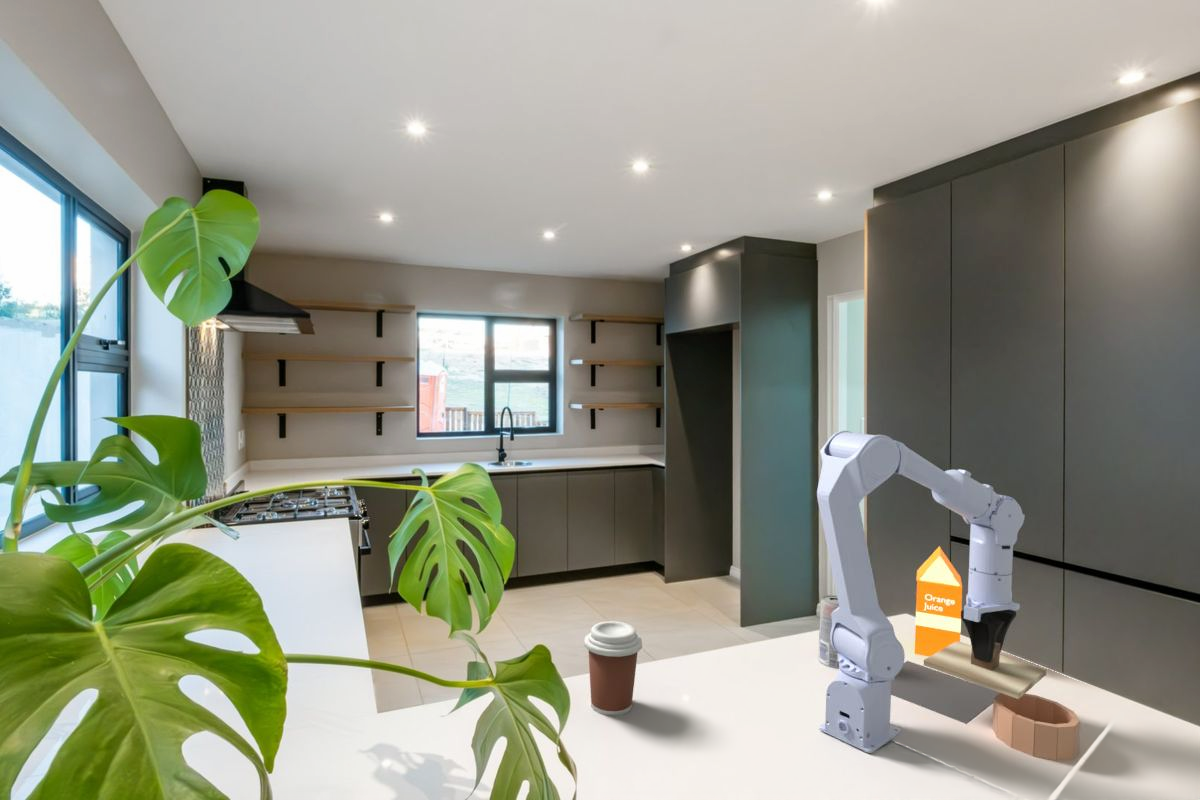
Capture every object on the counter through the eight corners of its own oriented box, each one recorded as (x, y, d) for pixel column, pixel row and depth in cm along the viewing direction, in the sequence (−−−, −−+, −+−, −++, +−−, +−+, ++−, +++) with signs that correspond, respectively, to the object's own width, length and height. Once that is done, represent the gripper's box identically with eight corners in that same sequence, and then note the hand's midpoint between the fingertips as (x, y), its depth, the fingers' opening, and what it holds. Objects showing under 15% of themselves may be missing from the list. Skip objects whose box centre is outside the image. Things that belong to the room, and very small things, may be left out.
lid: (1018, 699, 90) (1020, 669, 90) (923, 665, 100) (925, 638, 100) (1046, 674, 99) (1048, 647, 99) (956, 645, 109) (957, 620, 109)
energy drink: (844, 659, 120) (847, 595, 120) (853, 671, 115) (855, 605, 115) (815, 657, 121) (817, 594, 120) (822, 669, 115) (824, 603, 115)
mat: (966, 726, 97) (966, 723, 97) (864, 686, 109) (864, 684, 109) (1004, 696, 107) (1004, 693, 107) (907, 662, 119) (907, 660, 119)
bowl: (1065, 771, 85) (1066, 734, 85) (982, 739, 93) (984, 705, 93) (1086, 746, 92) (1087, 712, 92) (1007, 718, 100) (1008, 686, 99)
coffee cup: (587, 722, 95) (590, 641, 94) (577, 693, 104) (579, 619, 103) (647, 717, 96) (649, 638, 96) (632, 689, 105) (634, 617, 105)
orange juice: (958, 648, 127) (961, 548, 127) (960, 664, 119) (964, 558, 119) (914, 640, 131) (917, 542, 130) (913, 655, 123) (917, 552, 122)
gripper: (1002, 584, 91) (999, 679, 92) (1035, 568, 101) (1031, 654, 101) (950, 573, 97) (947, 662, 97) (985, 558, 106) (982, 640, 106)
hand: (986, 657), depth 99 cm, fingers closed on lid, 3 cm apart
